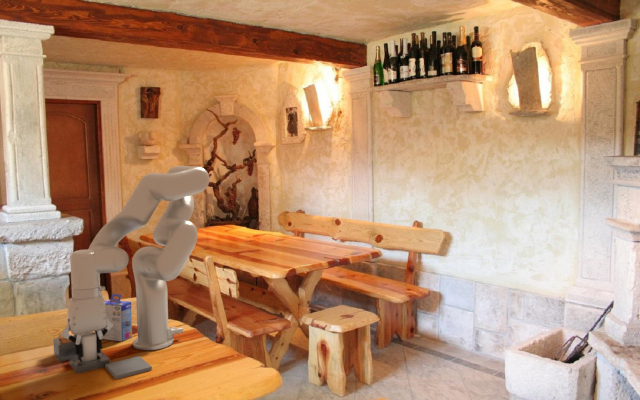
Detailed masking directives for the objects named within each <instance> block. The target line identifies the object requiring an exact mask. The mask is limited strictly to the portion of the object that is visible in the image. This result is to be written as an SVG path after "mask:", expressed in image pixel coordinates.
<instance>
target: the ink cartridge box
mask: <svg viewBox="0 0 640 400" xmlns="http://www.w3.org/2000/svg"><path fill="white" fill-rule="evenodd" d="M114 297H117V298H114ZM121 299H122V294H117V293H112V295H111V297H110V299H106V300H104V303H105V308H106V316H107V318H108V319H109V321H110V322H111V323H112V324H113V327H112V328H111V329H110V330H108V332H107V333H106V334H105V335H104V337H103V339H102V340H108V341H114V342H124V341H126V340H128V339H131V338H133V328H132V327H133V321H132V319H133V318H132V317H133V316H132V301H125V300H121Z"/></svg>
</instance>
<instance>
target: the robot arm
mask: <svg viewBox="0 0 640 400" xmlns="http://www.w3.org/2000/svg"><path fill="white" fill-rule="evenodd" d="M209 184H210V175H209V173H208V171H207V170H206V169H205V168H203V167H200V166H195V165H194V166H189V165H175V166H172V167H170V168H169V169H168V171H167V173H159V172H150V173H147V174H145V175H144V176H143V177H142V178H141V179H140V181H139V182H138V184H137V186H136V187H135V188H134V190H133V192H132V193H131V195H130V196H129V198H128V200H127V201H126V203H125V205H124V206H123V208H122V209H121V211H120V212H118V214H116V215H115V216H113V217H112V219H110V220H109V221H108V222H107V223H106V224H104V225H103V226H102V227H101V229H100V230H99V231H98V232H97V234H96V235H95V237H94V238H93V240H92V242H91V243H90V245H89V247H88V249H79V250H74V251H73V252H71V254H70V256H69V258H70V263H69V264H70V279H71V280H70V281H71V297H70V298H69V299H68V304H67V312H66V314H67V315H66V326H65V327H64V328H63V330H62V331H61V332H62V333H61V332H60V333H61V336H62V337H64V338H66V339H69V340H71V341H72V342H74V343H75V354H76V355H78V356H79V357H80V358H81V357H83V351H82V344H81V335H82V334H83V333H87V332H95V333H96V339H97V353H101V351H102V349H103V340H104V339H103V337H104V335H105V334H106V333H107V332H108V330H110V329H111V328H112V327H113V324H112V323H111V322H110V321H109V319H108V318H107V316H106V308H105V303H104V301H105V300H104V296H103V294H102V292H104V291H106V287H105V285H103V286H102V285H101V277H100V276H101V275H100V274H111V273H113V274H114V273H119V272H121V271H123V270H124V269H125V268H127V266H128V264H129V260H130V259H129V254H128V253H127V251H125V250H124V249H122V248H121V247H117V245H118V244H119V242H120V241H121V240H123V238H124V237H126V236H127V235H129V234H131V233H133V232H135V231H137V230H139V229H140V230H141V229H142V228H144V227H145V226H146V225H147V224H148V223H149V222H150V220H151V218H152V216H153V215H154V212H155V211H156V209H157V208H158V206H159V204H160V203H161V201H163V202H168V204H167V206H166V207H165V209H164V211H163V213H162V215H161V216H160V218H159V220H158V222H157V223H156V225H155V226H154V228H153V229H154V230H153V231H152V239H153V241H154V242H155V244H157V245H159V246H160V247H156V246H150V245H149V246H144V247H141V248H139V249H138V250H137V251H135V253H134V254H133V257H132V259H131V261H132V262H131V265H132V267H131V268H132V272H133V276H134V283H135V292H136V293H135V294H136V320H137V321H136V323H137V324H136V325H137V326H136V327H137V337H136V338H135V339H134V340H133V341H132V346H133V348H135V349H137V350H139V351H140V350H141V351H155V350H160V349H164V348H168V347H170V346H171V345H172V344H173V343H174V336H175V335H178V334H183V332H184V329H183V327H181V326H179V327H176V326H172V327H169V308H168V307H169V305H168V302H169V301H168V285H167V282H170V281H172V280H174V279H176V278H177V277H178V276H179V275H180V274H181V272H182V270H183V269H184V267H185V265H186V264H187V262H188V261H189V258H190V256H191V254H192V252H193V250H194V249H195V247H196V245H197V242H198V236H199V234H198V233H199V232H198V228H197V226H196V225H195V224H194V223H193V222H192V221H190V219H191V218H192V216H193V213H194V210H195V200H194V195H198V194H200V193H202V192H204V191H205V190H206V189H207V188H208V186H209ZM161 246H162V247H163V248H161ZM69 331H71V333H72V334H74V336H72V335H70V334H69Z"/></svg>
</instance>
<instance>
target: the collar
mask: <svg viewBox="0 0 640 400" xmlns="http://www.w3.org/2000/svg"><path fill="white" fill-rule="evenodd" d="M110 361H111V359H110V357H108V355H106V354H105V352H103V350H101V353H97V360H93V361H89V362H85V363H81V358H80V357H79V356H78V355H75V356H71V357H69V360H68V363H69V365H70V367H71V368H72V369H73V370H74V372H75V373H76V374H77V375H78V374H81V373H86V372H90V371H93V370H98V369H102V368H105V364H108V363H111V362H110Z"/></svg>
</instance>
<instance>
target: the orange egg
mask: <svg viewBox="0 0 640 400" xmlns="http://www.w3.org/2000/svg"><path fill="white" fill-rule="evenodd" d="M62 332H63V331H61V332H60V333H58V338H59V339H61V343H67V342H72V341H71V340H69V339H66V338H64V337H62V336H61V333H62ZM69 334H70V335H72V336H74V334H72V333H71V331H69Z"/></svg>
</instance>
